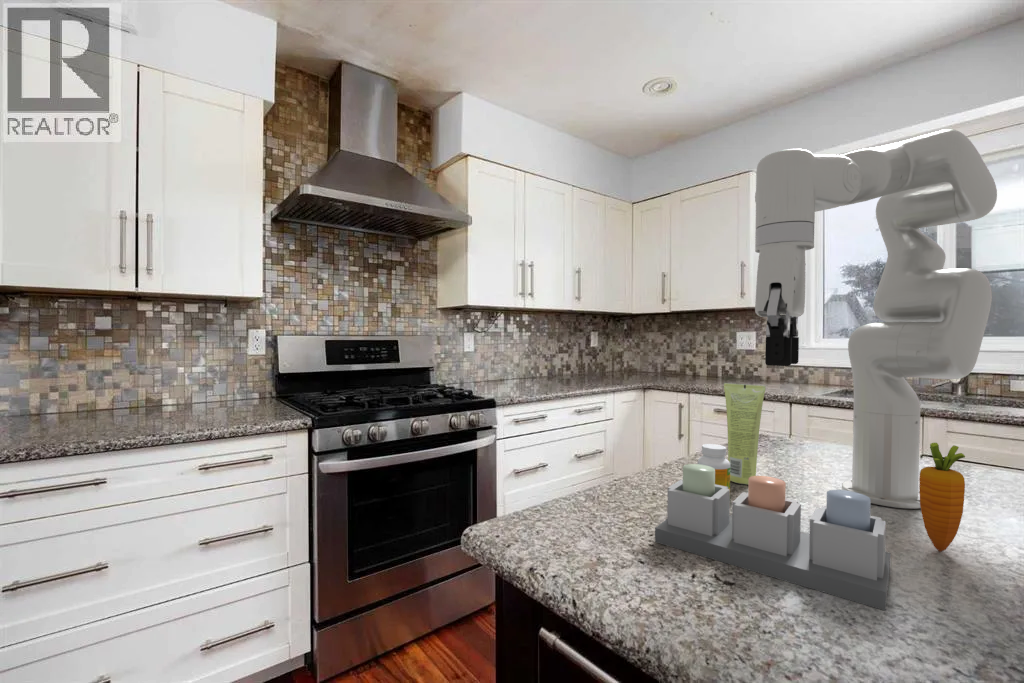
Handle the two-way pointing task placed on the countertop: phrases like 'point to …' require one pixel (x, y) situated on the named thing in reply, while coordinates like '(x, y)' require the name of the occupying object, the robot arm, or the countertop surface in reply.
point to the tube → (743, 428)
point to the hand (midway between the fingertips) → (782, 363)
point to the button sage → (699, 479)
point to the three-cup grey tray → (780, 543)
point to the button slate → (848, 509)
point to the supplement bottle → (716, 463)
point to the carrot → (942, 497)
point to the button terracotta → (767, 493)
